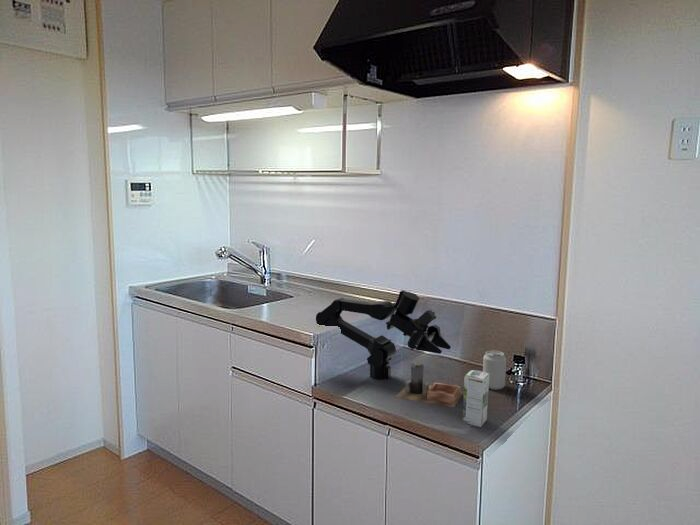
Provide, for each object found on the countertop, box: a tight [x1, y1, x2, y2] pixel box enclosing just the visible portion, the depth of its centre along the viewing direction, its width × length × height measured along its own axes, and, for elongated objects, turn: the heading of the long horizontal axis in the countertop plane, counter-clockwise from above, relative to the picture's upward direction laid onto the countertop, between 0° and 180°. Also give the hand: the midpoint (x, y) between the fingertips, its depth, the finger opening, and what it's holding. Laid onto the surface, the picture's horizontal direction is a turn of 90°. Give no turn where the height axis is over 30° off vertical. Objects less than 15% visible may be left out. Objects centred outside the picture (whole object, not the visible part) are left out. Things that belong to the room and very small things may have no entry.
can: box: [482, 350, 507, 391], centre depth 177 cm, size 8×8×12 cm
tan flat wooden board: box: [395, 379, 464, 408], centre depth 168 cm, size 19×14×4 cm
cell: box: [410, 362, 425, 394], centre depth 170 cm, size 4×4×10 cm
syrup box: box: [461, 369, 490, 428], centre depth 150 cm, size 6×6×14 cm
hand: (445, 350), depth 170 cm, fingers open, 9 cm apart
